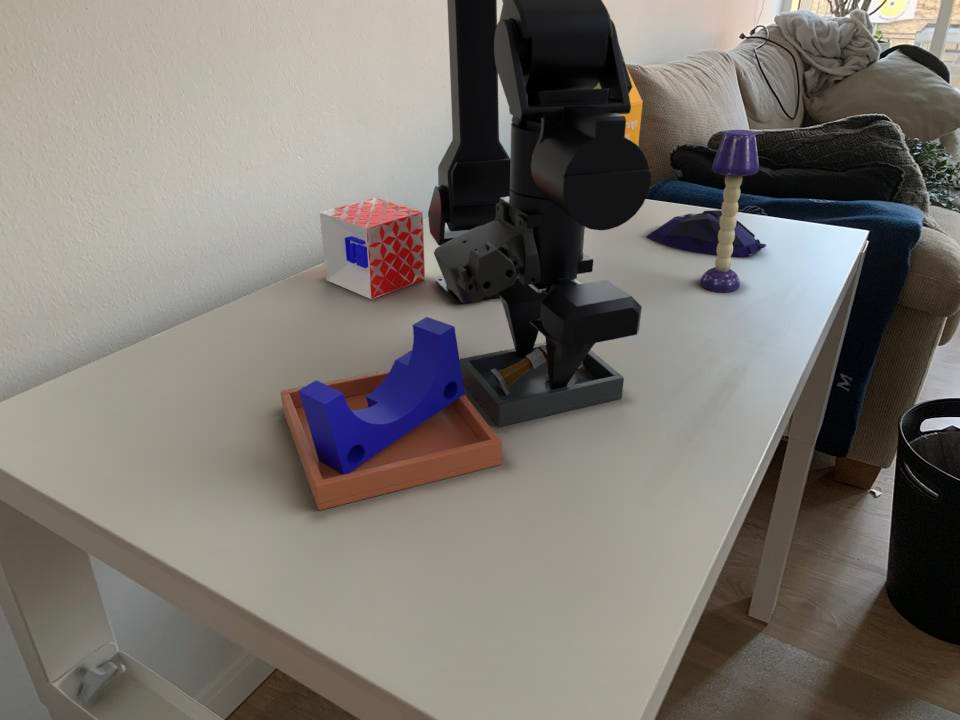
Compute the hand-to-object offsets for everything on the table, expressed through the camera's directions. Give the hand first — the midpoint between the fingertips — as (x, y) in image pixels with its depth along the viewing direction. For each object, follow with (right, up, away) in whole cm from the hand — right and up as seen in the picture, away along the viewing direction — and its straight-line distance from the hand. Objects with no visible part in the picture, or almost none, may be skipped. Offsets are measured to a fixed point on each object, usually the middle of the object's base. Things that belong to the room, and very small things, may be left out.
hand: (539, 373), depth 62 cm
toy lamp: (+22, +9, +21) cm, 32 cm away
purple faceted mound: (+24, +16, +34) cm, 45 cm away
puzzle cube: (-17, +10, +22) cm, 30 cm away
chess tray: (0, -1, +1) cm, 2 cm away
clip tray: (-12, -5, -6) cm, 14 cm away
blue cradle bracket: (-12, -4, -6) cm, 14 cm away
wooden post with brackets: (0, -1, +1) cm, 1 cm away
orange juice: (+12, +25, +50) cm, 57 cm away
